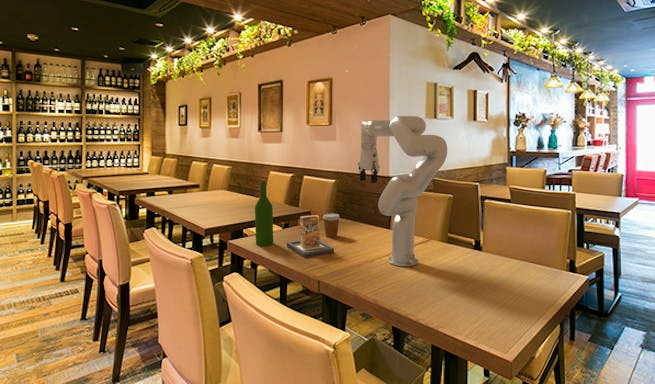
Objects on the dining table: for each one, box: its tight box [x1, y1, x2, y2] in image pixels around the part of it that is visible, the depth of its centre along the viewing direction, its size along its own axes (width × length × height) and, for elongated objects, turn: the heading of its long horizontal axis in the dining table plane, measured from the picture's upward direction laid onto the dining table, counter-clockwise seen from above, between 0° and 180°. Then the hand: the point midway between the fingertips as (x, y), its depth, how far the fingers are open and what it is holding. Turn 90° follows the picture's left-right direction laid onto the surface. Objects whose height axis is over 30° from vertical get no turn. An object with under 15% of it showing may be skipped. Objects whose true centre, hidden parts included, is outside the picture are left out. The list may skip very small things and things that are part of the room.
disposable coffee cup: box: [322, 213, 340, 238], centre depth 224 cm, size 10×10×12 cm
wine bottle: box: [254, 181, 274, 247], centre depth 208 cm, size 9×9×32 cm
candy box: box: [299, 214, 321, 248], centre depth 198 cm, size 9×4×15 cm, turn 111°
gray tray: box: [286, 239, 335, 259], centre depth 199 cm, size 20×16×2 cm
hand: (368, 181), depth 199 cm, fingers open, 9 cm apart
